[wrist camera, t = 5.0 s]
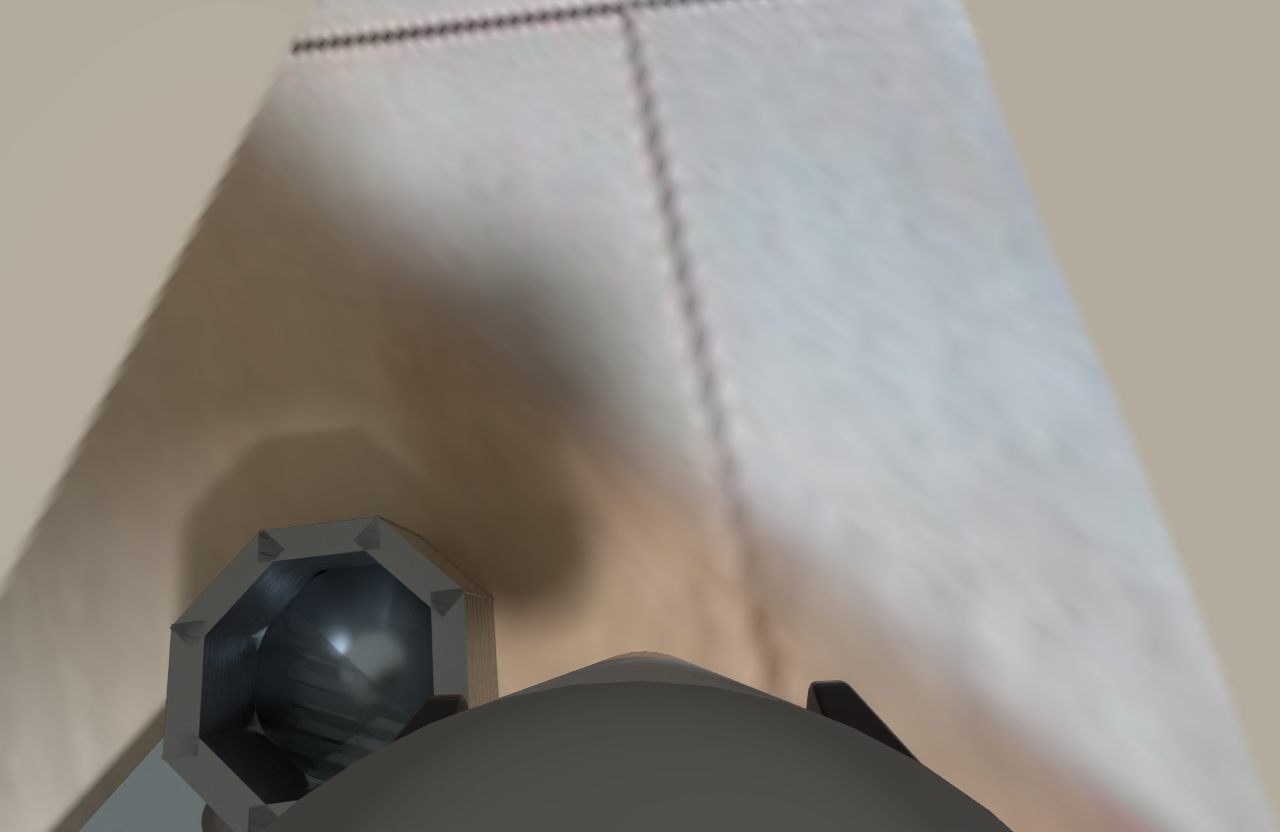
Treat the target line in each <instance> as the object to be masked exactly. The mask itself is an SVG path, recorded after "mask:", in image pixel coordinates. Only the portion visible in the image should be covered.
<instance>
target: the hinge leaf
mask: <svg viewBox="0 0 1280 832" xmlns="http://www.w3.org/2000/svg"><path fill="white" fill-rule="evenodd" d="M493 600H494V599H493V596H489V595H488V594H487V593H486V592H485V591H484V590H482V589H481V588H480V587H479V586H478V585H476V584H475V583H474V582H473V581H472V580H471V579H469V578H468V577H467V576H466V575H465V574H463V573H462V572H461V571H460V570H459V569H458V568H456V567H455V566H454V565H453V564H452V563H450V562H449V561H448V560H447V559H446V558H445V557H443V556H442V555H441V554H440V553H439V552H438V551H436V550H435V549H434V548H433V547H432V546H430V545H429V544H428V543H427V542H426V541H425V540H423V539H422V538H421V536H420V535H418V534H416V533H414V532H412V531H410V530H407V529H405V528H403V527H401V526H399V525H397V524H395V523H393V522H391V521H389V520H386V519H384V518H382V517H380V516H377V515H376V516H375V517H370V518H362V519H353V520H345V521H337V522H329V523H320V524H312V525H304V526H296V527H287V528H279V529H271V530H264V529H262V530H261V531H259V533H258V534H257V535H256V536H255V538H254V539H253V540H252V541H251V542H250V543H249V544H248V545H247V546H246V547H245V548H244V549H243V550H242V551H241V552H240V554H239V555H238V556H237V557H236V558H235V559H234V560H233V561H232V562H231V563H230V564H229V565H228V566H227V567H226V569H225V570H224V571H223V572H222V573H221V574H220V575H219V576H218V577H217V578H216V579H215V580H214V581H213V582H212V583H211V585H210V586H209V587H208V588H207V589H206V590H205V591H204V592H203V593H202V594H201V595H200V596H199V597H198V598H197V600H196V601H195V602H194V603H193V604H192V605H191V606H190V607H189V608H188V609H187V610H186V611H185V612H184V613H183V615H182V616H181V617H180V618H179V619H178V620H177V621H176V622H175V623H174V624H172V626H171V627H170V629H171V641H170V655H169V669H168V684H167V698H166V712H165V726H164V737H163V738H162V739H161V740H160V742H159V743H158V744H157V745H156V746H155V747H154V748H153V749H152V750H151V752H150V753H149V754H148V755H147V756H146V757H145V758H144V759H143V760H142V762H141V763H140V764H139V765H138V766H137V767H136V768H135V769H134V770H133V772H132V773H131V774H130V775H129V776H128V777H127V778H126V779H125V780H124V782H123V783H122V784H121V785H120V786H119V787H118V788H117V789H116V790H115V792H114V793H113V794H112V795H111V796H110V797H109V798H108V799H107V800H106V802H105V803H104V804H103V805H102V806H101V807H100V808H99V809H98V810H97V812H96V813H95V814H94V815H93V816H92V817H91V818H90V819H89V820H88V822H87V823H86V824H85V825H84V826H83V827H82V828H81V829H80V830H79V832H261V831H263V830H264V829H265V828H266V827H267V826H269V825H270V824H271V823H272V822H273V821H274V820H276V819H277V818H278V817H279V816H280V815H281V814H283V813H284V812H285V811H286V810H287V809H288V808H290V807H291V806H292V805H293V804H294V803H295V802H297V801H298V800H300V799H301V798H303V797H304V796H306V795H307V794H309V793H310V792H312V791H313V790H315V789H316V788H318V787H319V786H321V785H322V784H324V783H325V782H327V781H328V780H330V779H331V778H333V777H334V776H336V775H337V774H339V773H340V772H342V771H343V770H345V769H346V768H348V767H349V766H351V765H352V764H354V763H355V762H357V761H358V760H360V759H361V758H363V757H364V756H366V755H368V754H370V753H372V752H374V751H376V750H378V749H380V748H382V747H384V746H386V745H388V744H390V743H391V741H392V740H393V739H394V738H395V737H396V735H397V734H398V733H399V732H400V731H401V729H402V728H403V727H404V726H405V725H406V723H407V722H408V721H409V720H410V718H411V717H412V716H413V715H414V714H415V712H416V711H417V710H418V709H419V708H420V706H421V705H422V704H423V703H424V702H425V701H426V700H427V699H428V698H429V697H431V696H434V695H450V694H460V695H463V696H464V697H465V698H466V700H467V703H468V707H469V709H471V708H474V707H477V706H479V705H482V704H485V703H488V702H490V701H493V700H496V699H499V697H498V680H497V663H496V646H495V629H494V612H493Z"/></svg>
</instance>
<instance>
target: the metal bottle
mask: <svg viewBox="0 0 1280 832" xmlns="http://www.w3.org/2000/svg"><path fill="white" fill-rule="evenodd" d="M261 832H1013V831H1012V830H1011V829H1010V828H1008V827H1007V826H1006V825H1005V824H1004V823H1003V822H1002V821H1000V820H999V819H998V818H997V817H996V816H995V815H994V814H993V813H991V812H990V811H989V810H988V809H986V808H985V807H983V806H982V805H981V804H979V803H978V802H976V801H975V800H973V799H972V798H971V797H969V796H968V795H966V794H965V793H963V792H962V791H960V790H959V789H958V788H956V787H955V786H953V785H952V784H950V783H949V782H947V781H946V780H945V779H943V778H942V777H940V776H939V775H937V774H936V773H934V772H933V771H932V770H930V769H929V768H927V767H926V766H924V765H923V764H921V763H919V762H918V761H916V760H914V759H912V758H910V757H908V756H906V755H904V754H902V753H900V752H898V751H897V750H895V749H893V748H891V747H889V746H887V745H885V744H883V743H881V742H879V741H877V740H876V739H874V738H872V737H870V736H868V735H866V734H864V733H862V732H860V731H858V730H856V729H855V728H852V727H850V726H847V725H845V724H842V723H840V722H837V721H835V720H832V719H830V718H827V717H825V716H822V715H820V714H817V713H815V712H812V711H810V710H807V709H805V708H802V707H800V706H797V705H795V704H792V703H790V702H787V701H785V700H782V699H780V698H777V697H775V696H772V695H770V694H767V693H764V692H762V691H759V690H757V689H754V688H752V687H749V686H747V685H744V684H742V683H739V682H737V681H734V680H732V679H729V678H727V677H724V676H722V675H719V674H717V673H714V672H712V671H709V670H707V669H704V668H702V667H699V666H697V665H694V664H692V663H689V662H687V661H684V660H682V659H679V658H676V657H673V656H671V655H667V654H662V653H658V652H646V651H644V652H631V653H626V654H621V655H617V656H614V657H612V658H609V659H606V660H603V661H600V662H598V663H595V664H592V665H589V666H587V667H584V668H581V669H578V670H576V671H573V672H570V673H567V674H565V675H562V676H559V677H556V678H554V679H551V680H548V681H545V682H543V683H540V684H537V685H534V686H532V687H529V688H526V689H523V690H521V691H518V692H515V693H512V694H510V695H507V696H504V697H501V698H499V699H496V700H493V701H490V702H488V703H485V704H482V705H479V706H477V707H474V708H471V709H468V710H466V711H463V712H460V713H457V714H455V715H452V716H449V717H447V718H444V719H441V720H438V721H436V722H433V723H430V724H428V725H426V726H424V727H422V728H420V729H418V730H416V731H414V732H412V733H410V734H408V735H406V736H404V737H402V738H400V739H398V740H396V741H394V742H392V743H390V744H388V745H386V746H384V747H382V748H380V749H378V750H376V751H374V752H372V753H370V754H368V755H366V756H364V757H363V758H361V759H360V760H358V761H357V762H355V763H354V764H352V765H351V766H349V767H348V768H346V769H345V770H343V771H342V772H340V773H339V774H337V775H336V776H334V777H333V778H331V779H330V780H328V781H327V782H325V783H324V784H322V785H321V786H319V787H318V788H316V789H315V790H313V791H312V792H310V793H309V794H307V795H306V796H304V797H303V798H301V799H300V800H298V801H297V802H295V803H294V804H293V805H292V806H291V807H290V808H288V809H287V810H286V811H285V812H284V813H283V814H281V815H280V816H279V817H278V818H277V819H276V820H274V821H273V822H272V823H271V824H270V825H269V826H267V827H266V828H265V829H264V830H263V831H261Z"/></svg>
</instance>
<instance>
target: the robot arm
mask: <svg viewBox="0 0 1280 832" xmlns="http://www.w3.org/2000/svg"><path fill="white" fill-rule="evenodd" d="M468 709H469V707H468V703H467V700H466V698H465V697H464V696H463V695H460V694H450V695H434V696H431V697H429V698H428V699H427V700H426V701H425V702H424V703H423V704H422V705H421V706H420V708H419V709H418V710H417V711H416V712H415V714H414V715H413V716H412V717H411V718H410V720H409V721H408V722H407V723H406V725H405V726H404V727H403V728H402V729H401V731H400V732H399V733H398V734H397V735H396V737H395V738H394V739H393V740H392V741H391V743H392V742H394V741H396V740H398V739H400V738H402V737H404V736H406V735H408V734H410V733H412V732H414V731H416V730H418V729H420V728H422V727H424V726H426V725H428V724H430V723H433V722H436V721H438V720H441V719H444V718H447V717H449V716H452V715H455V714H457V713H460V712H463V711H466V710H468ZM806 709H807V710H810V711H812V712H815V713H817V714H820V715H822V716H825V717H827V718H830V719H832V720H835V721H837V722H840V723H842V724H845V725H847V726H850V727H852V728H855V729H856V730H858V731H860V732H862V733H864V734H866V735H868V736H870V737H872V738H874V739H876V740H877V741H879V742H881V743H883V744H885V745H887V746H889V747H891V748H893V749H895V750H897V751H898V752H900V753H902V754H904V755H906V756H908V757H910V758H912V759H914V760H916V761H918V762H919V763H921V762H920V761H919V760H918V759H917V758H916V757H915V756H914V755H913V754H912V753H911V751H910V750H909V749H908V748H907V747H906V746H905V745H904V744H903V743H902V742H901V741H900V739H899V738H898V737H897V736H896V735H895V734H894V733H893V732H892V731H891V730H890V729H889V727H888V726H887V725H886V724H885V723H884V722H883V721H882V720H881V719H880V718H879V717H878V715H877V714H876V713H875V712H874V711H873V710H872V709H871V708H870V707H869V706H868V705H867V703H866V702H865V701H864V700H863V699H862V698H861V697H860V696H859V695H858V694H857V693H856V691H855V690H854V689H853V688H852V687H851V686H850V685H849V684H848V683H846V682H844V681H841V680H832V681H815V682H812V683H811V684H810V687H809V690H808V697H807V707H806ZM921 764H922V763H921Z"/></svg>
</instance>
